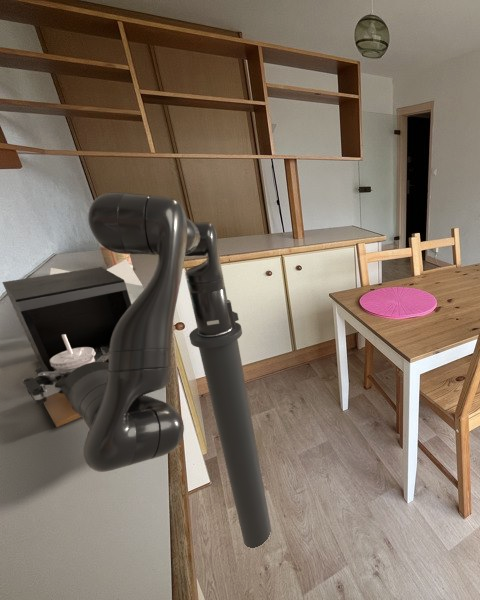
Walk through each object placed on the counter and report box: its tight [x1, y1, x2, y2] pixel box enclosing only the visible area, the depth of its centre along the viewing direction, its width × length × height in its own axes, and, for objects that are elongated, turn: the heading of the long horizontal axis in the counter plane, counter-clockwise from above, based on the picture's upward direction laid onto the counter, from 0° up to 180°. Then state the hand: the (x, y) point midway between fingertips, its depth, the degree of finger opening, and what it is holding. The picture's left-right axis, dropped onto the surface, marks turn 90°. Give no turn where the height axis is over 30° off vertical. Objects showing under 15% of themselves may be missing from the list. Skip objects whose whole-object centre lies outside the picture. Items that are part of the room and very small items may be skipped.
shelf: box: [2, 266, 132, 372], centre depth 76 cm, size 17×17×21 cm
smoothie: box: [50, 334, 96, 370], centre depth 63 cm, size 6×6×14 cm
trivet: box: [43, 393, 82, 428], centre depth 66 cm, size 12×12×1 cm
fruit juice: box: [98, 242, 134, 270], centre depth 144 cm, size 9×9×28 cm
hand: (75, 359), depth 61 cm, fingers open, 8 cm apart
